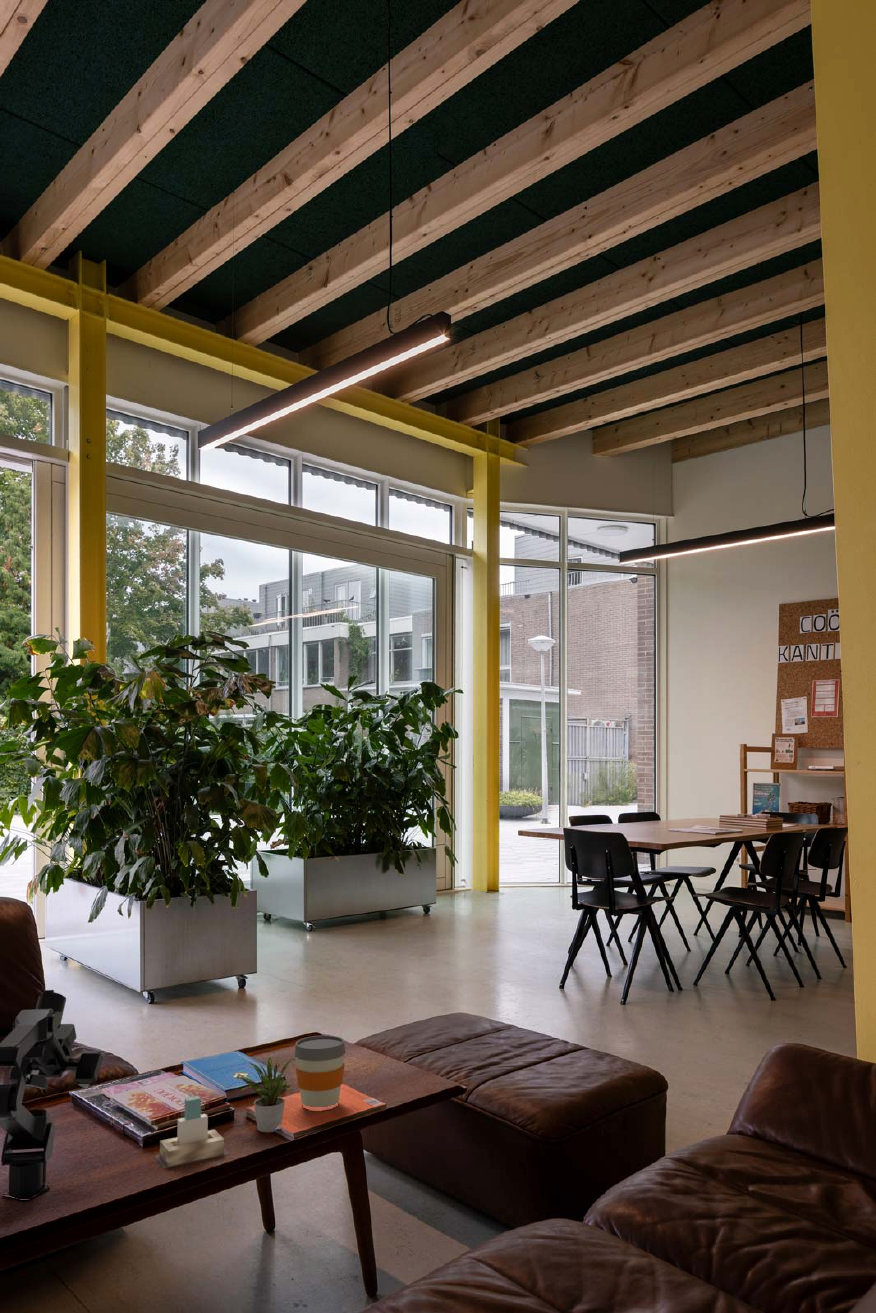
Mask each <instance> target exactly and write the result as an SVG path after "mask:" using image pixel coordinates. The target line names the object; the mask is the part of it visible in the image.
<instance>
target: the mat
mask: <svg viewBox="0 0 876 1313" xmlns="http://www.w3.org/2000/svg"><path fill="white" fill-rule="evenodd" d="M226 1155H227V1156H228V1155H230V1153H229V1151H228V1150H227V1149H226V1148H225V1147H224V1154H222V1155H218V1156H213V1157H209V1158H204V1159H200V1160H195V1161H191V1162H186V1163H182V1164H177V1165H173V1166H169V1167H168V1165H167V1164H166V1163H165V1161H164V1160H163V1159H162V1158H161V1156H160V1154H157V1155H154V1157H155V1158H156V1160H157V1161H158V1163H159V1164H160V1165H161V1166H162V1168H163V1169H164V1170H165V1169H169V1168H173V1167H177V1166H182V1165H183V1166H184V1165H187V1164H191V1163H195V1162H200V1161H205V1160H208V1159H214V1158H219V1157H223V1156H226Z"/></svg>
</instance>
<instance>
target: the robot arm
mask: <svg viewBox="0 0 876 1313" xmlns="http://www.w3.org/2000/svg"><path fill="white" fill-rule="evenodd" d="M66 1002H67V998H66V996H64V995H62V994H61V993H59V992H55V991H54V989H45V990H44V991H43V993H42V994H40V995H39V996H38V999H37V1002H36V1006H35V1009H22V1010H21V1011H20V1012H19V1013H18V1015H17V1016H16V1017H15V1019H14V1021H13V1023H12V1028H13V1030H12V1031H11V1032H10V1033H9V1034H8V1035H7V1036H6V1037H5V1038H4V1039H3V1040H1V1042H0V1068H1V1069H2V1068H10V1069H9V1072H8V1078H9V1080H10V1083H0V1128H1V1129H2V1130H3V1131H5V1136H4V1141H3V1146H2V1151H1V1157H0V1158H1V1159H0V1162H1V1166H2V1167H3V1166H8V1168H9V1169H8V1191H9V1192H7V1191H6V1192H7V1194H3V1193H2V1194H1V1195H10V1196H12V1197H15V1198H18V1199H30V1198H32V1197H33V1196H35V1195H37V1196H39V1195H41V1194H43V1193H45V1192H46V1191H45V1190H47V1191H49V1190H51V1185H49V1184H46V1182H47V1181H46V1180H47V1179H46V1178H47V1177H46V1176H47V1162H48V1161H49V1159H50V1158H51V1156H53V1150H54V1143H55V1142H54V1140H55V1130H56V1129H55V1128H56V1127H55V1122H53V1119H52V1118H51V1117H50V1116H51V1112H48V1111H47V1110H46V1109H45V1108H43V1109H41V1108H38V1109H27V1108H26V1107H25V1106H24V1105H23V1104H22V1103H23V1099H24V1094H25V1090H26V1087H33V1088H38V1089H42V1090H48V1087H49V1083H48V1080H47V1078H62V1076H63V1073H64V1072H66V1071H68V1072H69V1071H75V1073H74V1074H75V1081H76V1082H77V1083H76V1084H77V1085H78V1086H80V1087H82V1088H83V1089H85V1090H88V1089H89V1086H90V1085H91V1084H94V1083H95V1082H97V1080H98V1077H99V1073H100V1069H101V1067H102V1064H103V1061H104V1057H103V1055H102V1053H101V1052H100V1051H83V1052H82V1053H81V1054H80V1057H79V1058H78V1057H77V1058H74V1057H73V1058H70V1057H71V1056H72V1053H73V1049H72V1045H73V1044H74V1042H75V1040H76V1039H77V1033H76V1032H77V1031H76V1028H75V1024H73V1023H62V1020H63V1015H64V1011H65V1007H66ZM40 1149H43V1150H40ZM24 1150H25V1151H24ZM26 1150H33V1151H26ZM34 1150H35V1151H34ZM14 1151H18V1152H14ZM19 1151H20V1152H19ZM44 1191H45V1192H44ZM42 1192H43V1193H42ZM40 1193H41V1194H40ZM38 1194H39V1195H38ZM32 1199H33V1198H32ZM30 1200H31V1199H30Z"/></svg>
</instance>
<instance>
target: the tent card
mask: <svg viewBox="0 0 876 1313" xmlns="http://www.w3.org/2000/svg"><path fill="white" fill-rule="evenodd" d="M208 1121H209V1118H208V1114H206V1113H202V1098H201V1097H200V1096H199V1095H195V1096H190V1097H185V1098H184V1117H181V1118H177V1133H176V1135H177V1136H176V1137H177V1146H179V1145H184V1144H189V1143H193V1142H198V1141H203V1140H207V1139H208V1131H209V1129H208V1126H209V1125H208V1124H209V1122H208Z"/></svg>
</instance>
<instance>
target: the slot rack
mask: <svg viewBox="0 0 876 1313" xmlns="http://www.w3.org/2000/svg"><path fill="white" fill-rule="evenodd" d="M224 1148H225V1138H224V1137H223V1136H222V1135H221V1134H220V1133H218V1131H217V1130H216V1129H210V1130H209V1129H208V1139H207V1140H203V1141H198V1142H193V1143H189V1144H184V1145H179V1146H177V1136H176V1137H172V1138H167V1139H162V1140H159V1155H160V1156H161V1158H162V1159H163V1160H164V1161H165V1163H166V1164H167V1165H168V1167H169V1166H173V1165H177V1164H182V1163H186V1162H191V1161H195V1160H200V1159H204V1158H209V1157H213V1156H218V1155H222V1154H224ZM169 1168H170V1167H169Z"/></svg>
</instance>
